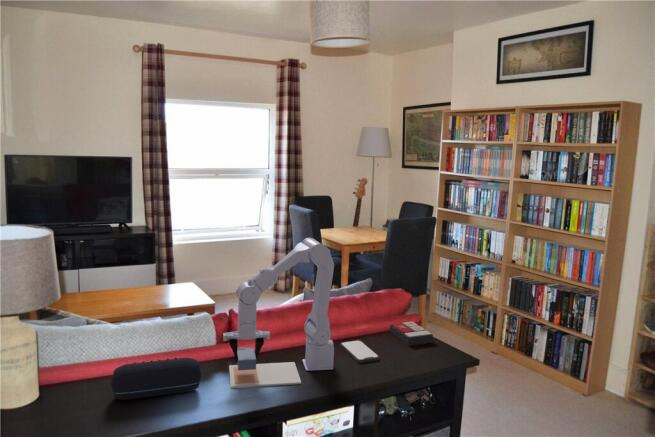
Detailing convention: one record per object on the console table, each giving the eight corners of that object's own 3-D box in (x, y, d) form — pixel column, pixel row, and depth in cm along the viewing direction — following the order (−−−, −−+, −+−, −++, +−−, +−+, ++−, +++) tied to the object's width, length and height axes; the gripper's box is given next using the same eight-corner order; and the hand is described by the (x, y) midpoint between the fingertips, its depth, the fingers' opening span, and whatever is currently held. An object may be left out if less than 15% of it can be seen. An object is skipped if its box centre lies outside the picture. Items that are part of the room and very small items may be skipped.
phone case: (339, 346, 195) (358, 364, 181) (339, 342, 195) (358, 360, 181) (359, 343, 199) (380, 361, 185) (360, 339, 199) (380, 356, 184)
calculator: (412, 320, 215) (433, 332, 201) (412, 330, 215) (432, 343, 202) (389, 323, 211) (408, 335, 197) (388, 333, 211) (408, 346, 197)
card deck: (256, 369, 163) (256, 359, 163) (238, 370, 162) (238, 360, 161) (253, 356, 172) (253, 347, 171) (236, 357, 171) (236, 347, 170)
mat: (294, 363, 178) (294, 361, 178) (301, 383, 165) (301, 382, 165) (229, 367, 174) (229, 365, 173) (230, 388, 160) (230, 386, 160)
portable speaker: (198, 380, 164) (198, 350, 162) (202, 396, 155) (202, 364, 153) (112, 390, 155) (111, 359, 154) (111, 408, 146) (110, 375, 144)
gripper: (268, 314, 170) (267, 353, 172) (223, 316, 167) (222, 355, 169) (271, 323, 163) (269, 363, 166) (223, 324, 160) (223, 365, 162)
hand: (246, 360), depth 167 cm, fingers closed on card deck, 5 cm apart
